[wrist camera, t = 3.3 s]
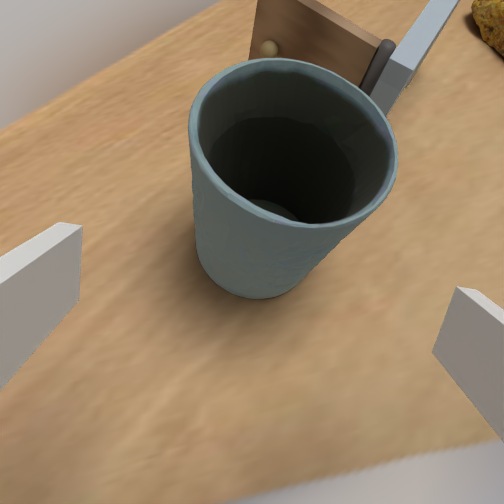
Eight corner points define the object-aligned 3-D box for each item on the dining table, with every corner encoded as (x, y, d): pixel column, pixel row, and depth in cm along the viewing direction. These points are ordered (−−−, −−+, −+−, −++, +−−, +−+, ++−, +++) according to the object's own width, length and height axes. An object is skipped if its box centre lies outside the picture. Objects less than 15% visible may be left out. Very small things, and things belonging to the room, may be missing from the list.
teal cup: (180, 191, 31) (177, 55, 20) (307, 182, 33) (365, 54, 22) (198, 321, 27) (205, 238, 16) (341, 301, 29) (432, 215, 18)
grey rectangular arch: (343, 187, 33) (413, 70, 23) (327, 178, 33) (389, 58, 23) (418, 67, 41) (496, -60, 31) (405, 61, 41) (478, -68, 31)
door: (348, 140, 35) (398, 44, 27) (335, 155, 34) (383, 60, 26) (251, 76, 37) (270, -32, 28) (236, 89, 36) (251, -20, 27)
